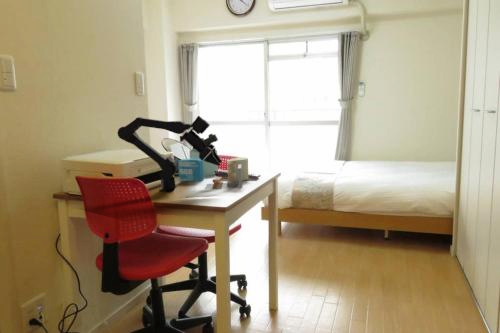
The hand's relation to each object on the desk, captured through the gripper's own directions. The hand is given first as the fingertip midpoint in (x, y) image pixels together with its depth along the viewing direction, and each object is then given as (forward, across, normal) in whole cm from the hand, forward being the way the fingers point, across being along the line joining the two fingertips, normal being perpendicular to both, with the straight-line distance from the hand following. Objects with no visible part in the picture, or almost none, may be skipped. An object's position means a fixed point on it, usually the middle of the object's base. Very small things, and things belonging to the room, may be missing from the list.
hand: (220, 163), depth 181 cm
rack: (+9, 0, +7) cm, 12 cm away
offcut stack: (+6, 0, +9) cm, 11 cm away
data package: (-4, +17, +20) cm, 27 cm away
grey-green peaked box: (-1, +35, +18) cm, 39 cm away
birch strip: (+11, 0, +4) cm, 12 cm away
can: (+14, +15, +3) cm, 21 cm away
